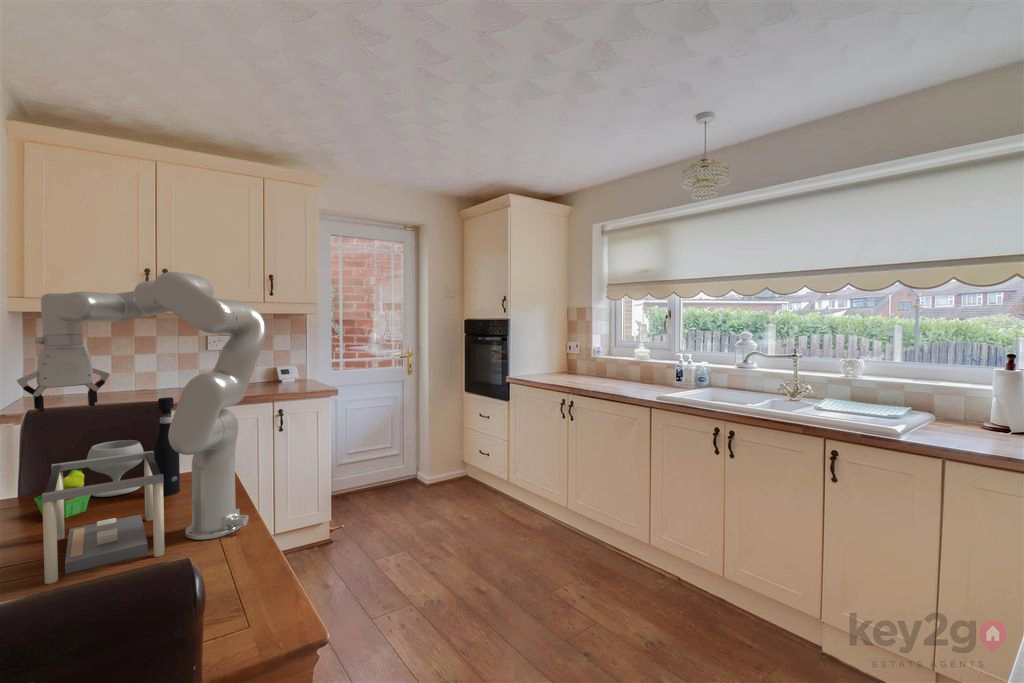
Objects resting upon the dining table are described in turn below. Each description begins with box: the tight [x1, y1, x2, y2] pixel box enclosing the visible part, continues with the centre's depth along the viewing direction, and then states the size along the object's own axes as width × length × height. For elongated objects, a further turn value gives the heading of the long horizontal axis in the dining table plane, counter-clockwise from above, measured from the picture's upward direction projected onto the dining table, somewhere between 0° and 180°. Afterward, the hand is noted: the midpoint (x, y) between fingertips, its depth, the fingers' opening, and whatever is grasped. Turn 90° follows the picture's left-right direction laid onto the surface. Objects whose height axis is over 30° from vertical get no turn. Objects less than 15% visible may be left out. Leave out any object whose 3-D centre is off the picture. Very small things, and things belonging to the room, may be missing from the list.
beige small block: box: [96, 517, 117, 532], centre depth 117 cm, size 2×4×2 cm, turn 131°
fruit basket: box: [34, 469, 92, 519], centre depth 135 cm, size 11×9×11 cm
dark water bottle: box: [153, 396, 181, 497], centre depth 150 cm, size 6×6×30 cm
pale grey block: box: [97, 528, 118, 545], centre depth 111 cm, size 2×4×2 cm, turn 131°
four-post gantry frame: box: [42, 459, 165, 585], centre depth 114 cm, size 28×20×17 cm
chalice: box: [86, 439, 145, 498], centre depth 152 cm, size 14×14×15 cm
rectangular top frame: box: [41, 450, 164, 503], centre depth 114 cm, size 28×20×2 cm
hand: (67, 408), depth 122 cm, fingers open, 9 cm apart
